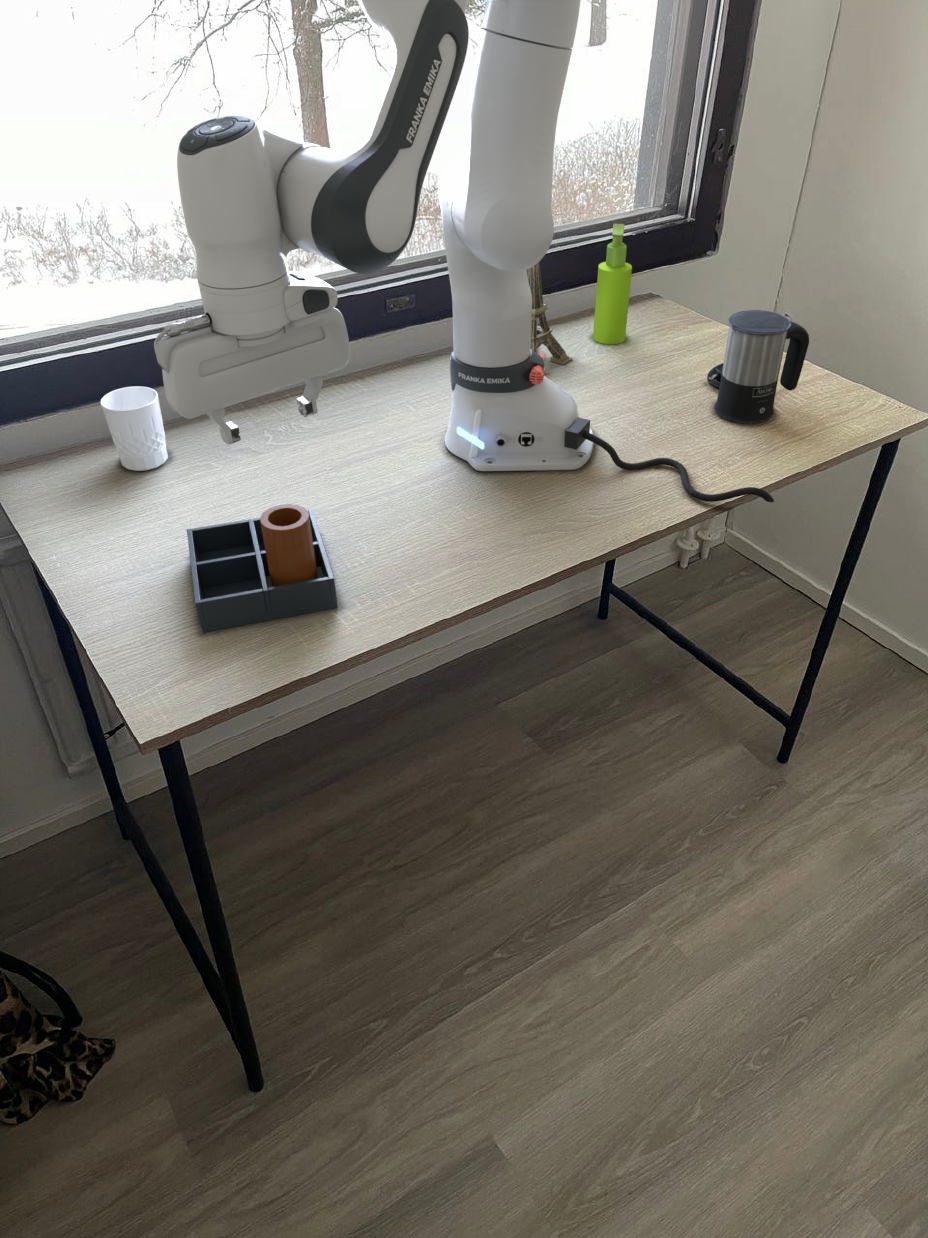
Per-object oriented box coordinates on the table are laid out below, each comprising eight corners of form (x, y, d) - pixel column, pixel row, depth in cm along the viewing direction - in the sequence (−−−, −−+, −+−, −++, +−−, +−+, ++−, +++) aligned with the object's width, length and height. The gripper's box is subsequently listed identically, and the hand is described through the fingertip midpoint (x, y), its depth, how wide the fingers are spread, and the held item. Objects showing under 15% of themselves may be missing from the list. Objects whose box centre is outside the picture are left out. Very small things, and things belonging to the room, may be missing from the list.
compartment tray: (316, 536, 123) (312, 508, 120) (337, 607, 111) (334, 578, 109) (193, 557, 120) (186, 529, 117) (202, 632, 108) (195, 603, 105)
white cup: (143, 478, 135) (127, 415, 129) (106, 464, 139) (88, 402, 132) (183, 455, 141) (169, 393, 134) (146, 442, 144) (130, 381, 138)
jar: (323, 575, 115) (314, 505, 108) (311, 602, 110) (301, 531, 104) (280, 572, 115) (268, 502, 109) (266, 599, 111) (253, 528, 105)
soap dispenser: (591, 345, 170) (600, 231, 158) (593, 330, 176) (602, 219, 163) (624, 347, 169) (635, 232, 157) (625, 332, 175) (636, 220, 162)
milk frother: (747, 430, 144) (765, 337, 135) (669, 396, 154) (681, 306, 144) (803, 404, 151) (824, 313, 142) (725, 372, 161) (740, 285, 151)
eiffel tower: (572, 359, 166) (581, 210, 150) (535, 379, 160) (540, 226, 144) (525, 344, 171) (529, 199, 155) (488, 362, 165) (488, 213, 149)
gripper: (163, 339, 87) (195, 470, 96) (350, 286, 96) (364, 409, 105) (136, 320, 91) (170, 446, 100) (319, 270, 100) (334, 390, 109)
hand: (270, 427), depth 102 cm, fingers open, 8 cm apart
